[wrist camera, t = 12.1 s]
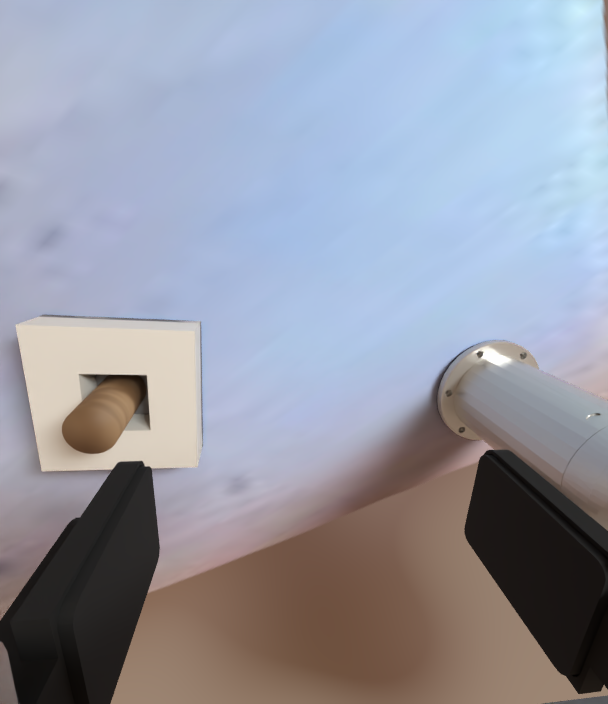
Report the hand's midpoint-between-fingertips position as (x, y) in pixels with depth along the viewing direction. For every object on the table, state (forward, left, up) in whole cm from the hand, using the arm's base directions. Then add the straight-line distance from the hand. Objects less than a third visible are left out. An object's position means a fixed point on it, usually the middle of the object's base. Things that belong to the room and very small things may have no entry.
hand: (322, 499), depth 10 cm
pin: (+14, +8, -26) cm, 30 cm away
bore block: (+14, +8, -27) cm, 31 cm away
